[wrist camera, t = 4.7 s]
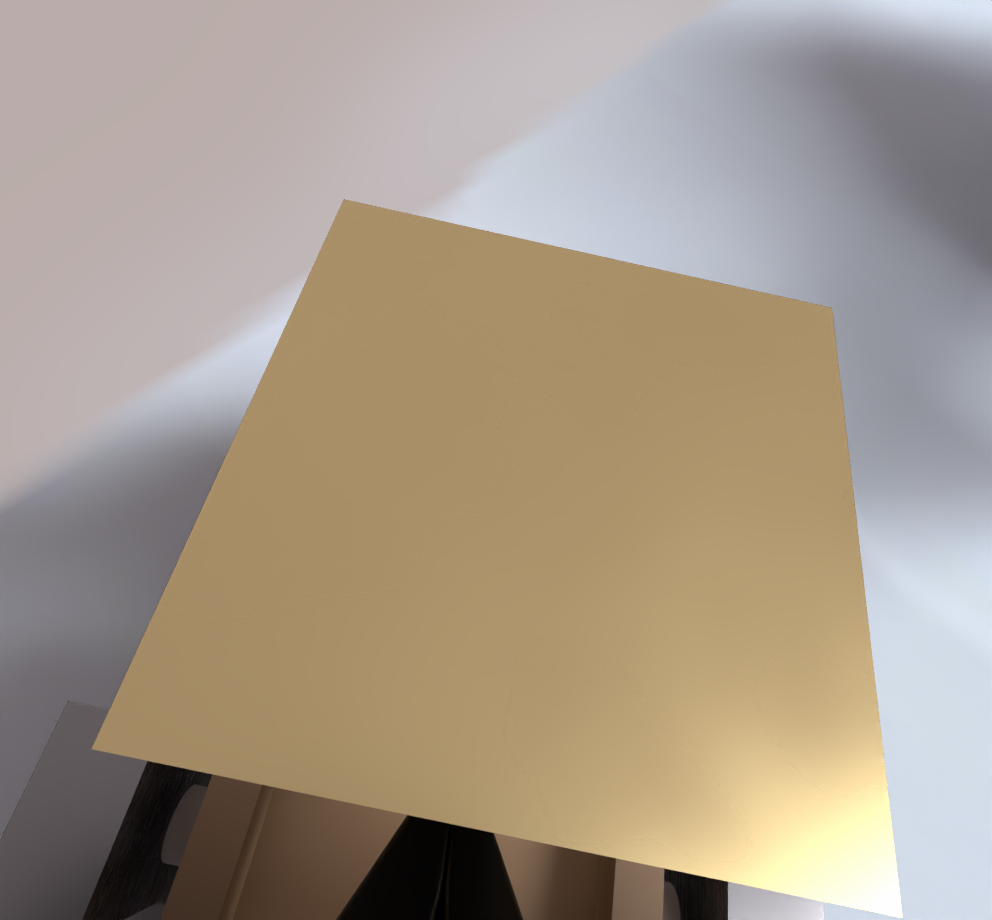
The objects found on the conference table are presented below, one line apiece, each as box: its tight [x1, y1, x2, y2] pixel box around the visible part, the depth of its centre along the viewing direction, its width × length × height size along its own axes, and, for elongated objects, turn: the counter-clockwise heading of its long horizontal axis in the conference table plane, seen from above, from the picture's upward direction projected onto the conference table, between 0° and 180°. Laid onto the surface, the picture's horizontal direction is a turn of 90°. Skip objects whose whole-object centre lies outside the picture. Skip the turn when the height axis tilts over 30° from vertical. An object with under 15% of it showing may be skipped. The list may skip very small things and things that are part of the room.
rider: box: [92, 199, 902, 918], centre depth 8 cm, size 5×5×8 cm
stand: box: [0, 701, 824, 920], centre depth 12 cm, size 6×13×6 cm, turn 80°
